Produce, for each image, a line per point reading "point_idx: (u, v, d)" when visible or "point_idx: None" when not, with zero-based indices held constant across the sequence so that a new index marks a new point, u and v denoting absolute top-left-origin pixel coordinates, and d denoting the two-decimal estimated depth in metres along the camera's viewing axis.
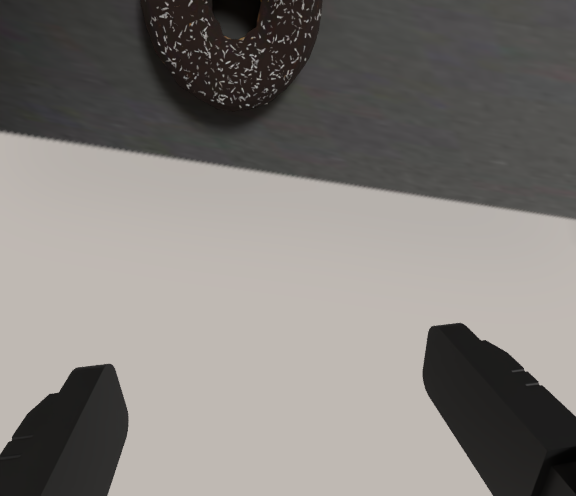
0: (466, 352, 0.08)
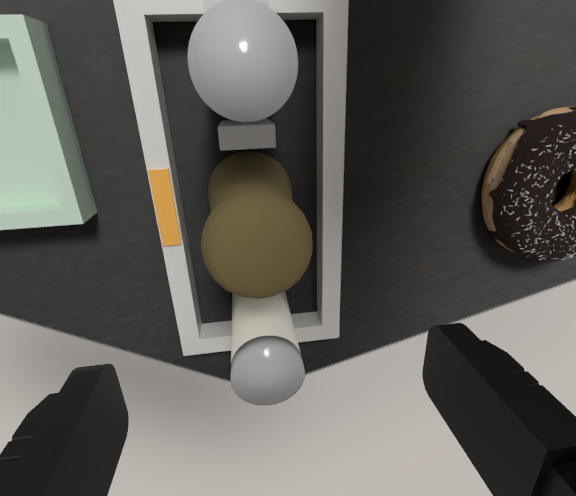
0: (466, 352, 0.08)
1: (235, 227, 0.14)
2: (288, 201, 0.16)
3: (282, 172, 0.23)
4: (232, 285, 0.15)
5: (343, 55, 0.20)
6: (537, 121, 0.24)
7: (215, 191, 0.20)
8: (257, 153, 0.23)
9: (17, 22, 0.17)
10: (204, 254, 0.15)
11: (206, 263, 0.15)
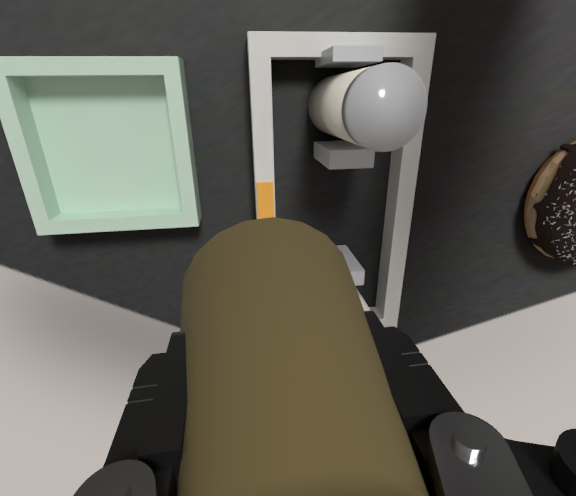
0: None
1: None
2: None
3: (343, 268, 0.10)
4: None
5: None
6: None
7: (189, 347, 0.08)
8: (286, 224, 0.11)
9: (172, 62, 0.21)
10: None
11: None
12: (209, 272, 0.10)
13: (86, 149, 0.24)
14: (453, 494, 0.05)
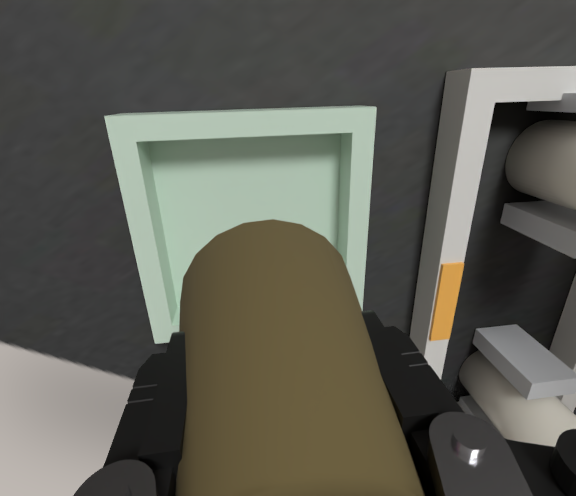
0: None
1: None
2: None
3: (341, 270, 0.10)
4: None
5: None
6: None
7: (187, 350, 0.08)
8: (285, 226, 0.11)
9: (367, 115, 0.15)
10: None
11: None
12: (208, 274, 0.10)
13: (220, 227, 0.18)
14: (453, 494, 0.05)
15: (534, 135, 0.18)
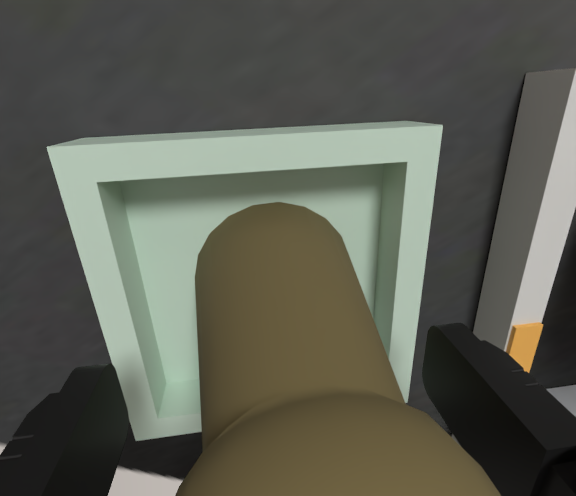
0: (465, 352, 0.08)
1: None
2: (468, 482, 0.04)
3: (341, 247, 0.12)
4: None
5: None
6: None
7: (207, 309, 0.09)
8: (290, 208, 0.12)
9: (430, 137, 0.10)
10: None
11: None
12: (222, 248, 0.11)
13: None
14: None
15: None
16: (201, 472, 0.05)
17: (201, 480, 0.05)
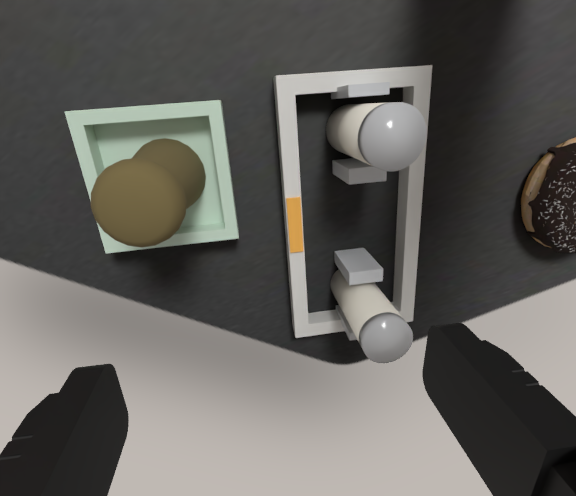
0: (466, 352, 0.08)
1: (109, 184, 0.19)
2: (158, 166, 0.20)
3: (189, 154, 0.27)
4: (115, 233, 0.20)
5: (426, 113, 0.29)
6: (563, 148, 0.32)
7: None
8: (169, 139, 0.28)
9: (216, 105, 0.26)
10: (92, 209, 0.19)
11: (94, 217, 0.20)
12: None
13: None
14: None
15: (333, 114, 0.29)
16: None
17: None
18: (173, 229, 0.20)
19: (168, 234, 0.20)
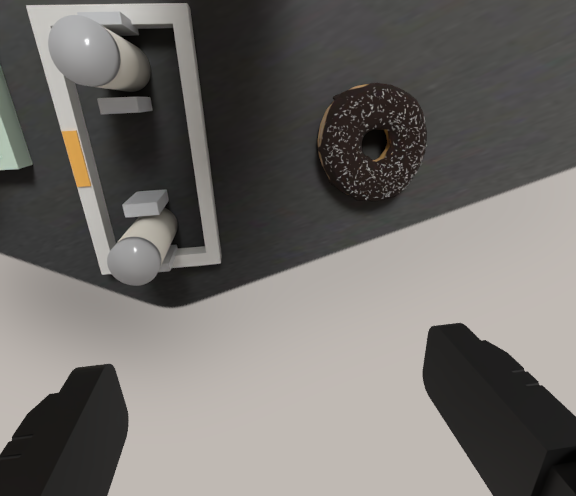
0: (466, 352, 0.08)
1: None
2: None
3: None
4: None
5: (191, 52, 0.30)
6: (341, 94, 0.33)
7: None
8: None
9: None
10: None
11: None
12: None
13: None
14: None
15: None
16: None
17: None
18: None
19: None
